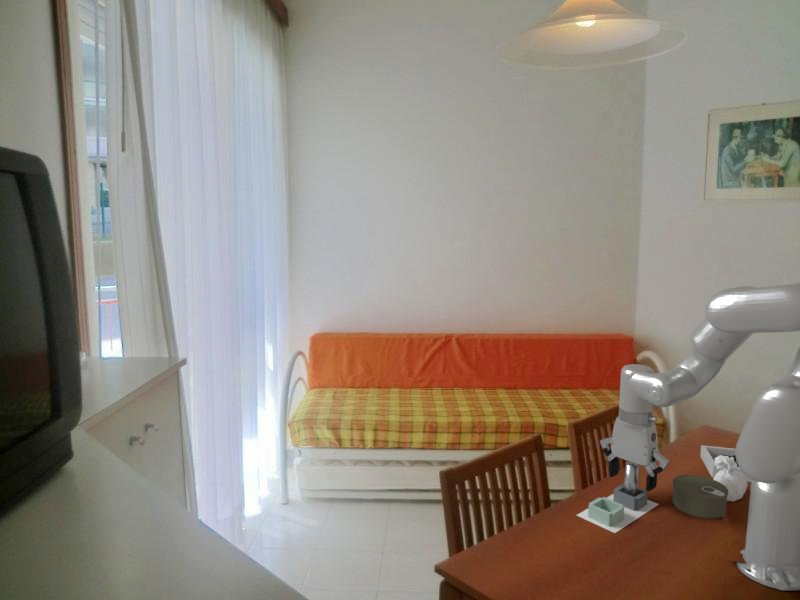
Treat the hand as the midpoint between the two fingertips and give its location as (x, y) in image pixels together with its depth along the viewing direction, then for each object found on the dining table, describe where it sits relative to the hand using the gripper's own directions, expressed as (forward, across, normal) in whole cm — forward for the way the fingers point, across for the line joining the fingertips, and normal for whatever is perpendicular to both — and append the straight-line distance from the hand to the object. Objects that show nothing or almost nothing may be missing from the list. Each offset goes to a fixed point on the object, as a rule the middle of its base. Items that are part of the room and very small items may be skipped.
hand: (631, 482), depth 140 cm
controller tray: (+7, -8, -43) cm, 44 cm away
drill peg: (+5, 0, 0) cm, 5 cm away
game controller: (+7, -6, -42) cm, 43 cm away
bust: (+7, -13, -25) cm, 29 cm away
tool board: (+7, 0, +6) cm, 9 cm away
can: (+7, -12, -11) cm, 17 cm away
